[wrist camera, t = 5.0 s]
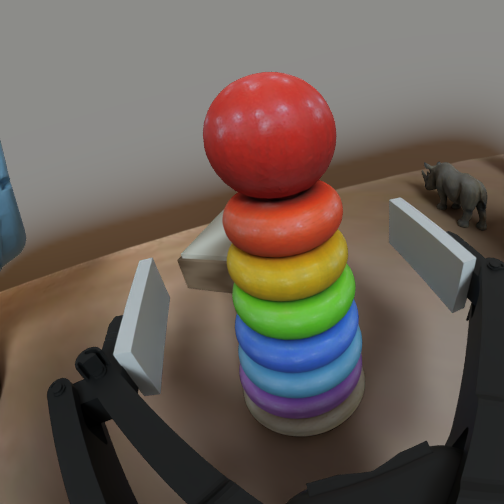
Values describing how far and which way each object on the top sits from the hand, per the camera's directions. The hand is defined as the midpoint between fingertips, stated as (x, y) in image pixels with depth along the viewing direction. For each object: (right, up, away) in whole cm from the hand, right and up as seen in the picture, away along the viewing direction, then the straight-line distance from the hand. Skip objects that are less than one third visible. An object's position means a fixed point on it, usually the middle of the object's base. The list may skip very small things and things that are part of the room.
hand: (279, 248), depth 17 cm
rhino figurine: (+25, +5, +19) cm, 32 cm away
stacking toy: (+2, -10, +3) cm, 10 cm away
